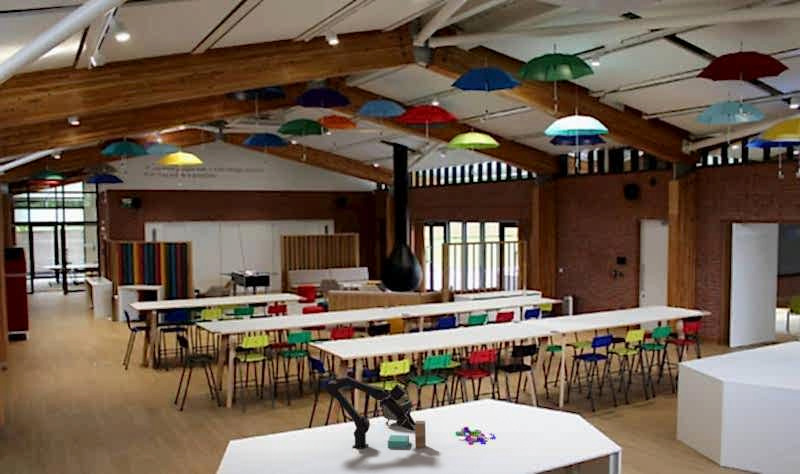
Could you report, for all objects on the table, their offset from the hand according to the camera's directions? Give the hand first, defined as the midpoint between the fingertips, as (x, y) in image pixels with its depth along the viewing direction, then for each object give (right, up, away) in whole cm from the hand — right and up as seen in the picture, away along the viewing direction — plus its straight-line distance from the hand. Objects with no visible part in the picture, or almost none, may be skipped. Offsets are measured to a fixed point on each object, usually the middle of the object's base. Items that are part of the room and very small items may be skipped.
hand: (414, 427), depth 354 cm
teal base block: (-8, -11, +4) cm, 14 cm away
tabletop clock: (-9, -10, +42) cm, 44 cm away
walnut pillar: (+3, -10, 0) cm, 11 cm away
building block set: (+33, -10, +15) cm, 38 cm away
